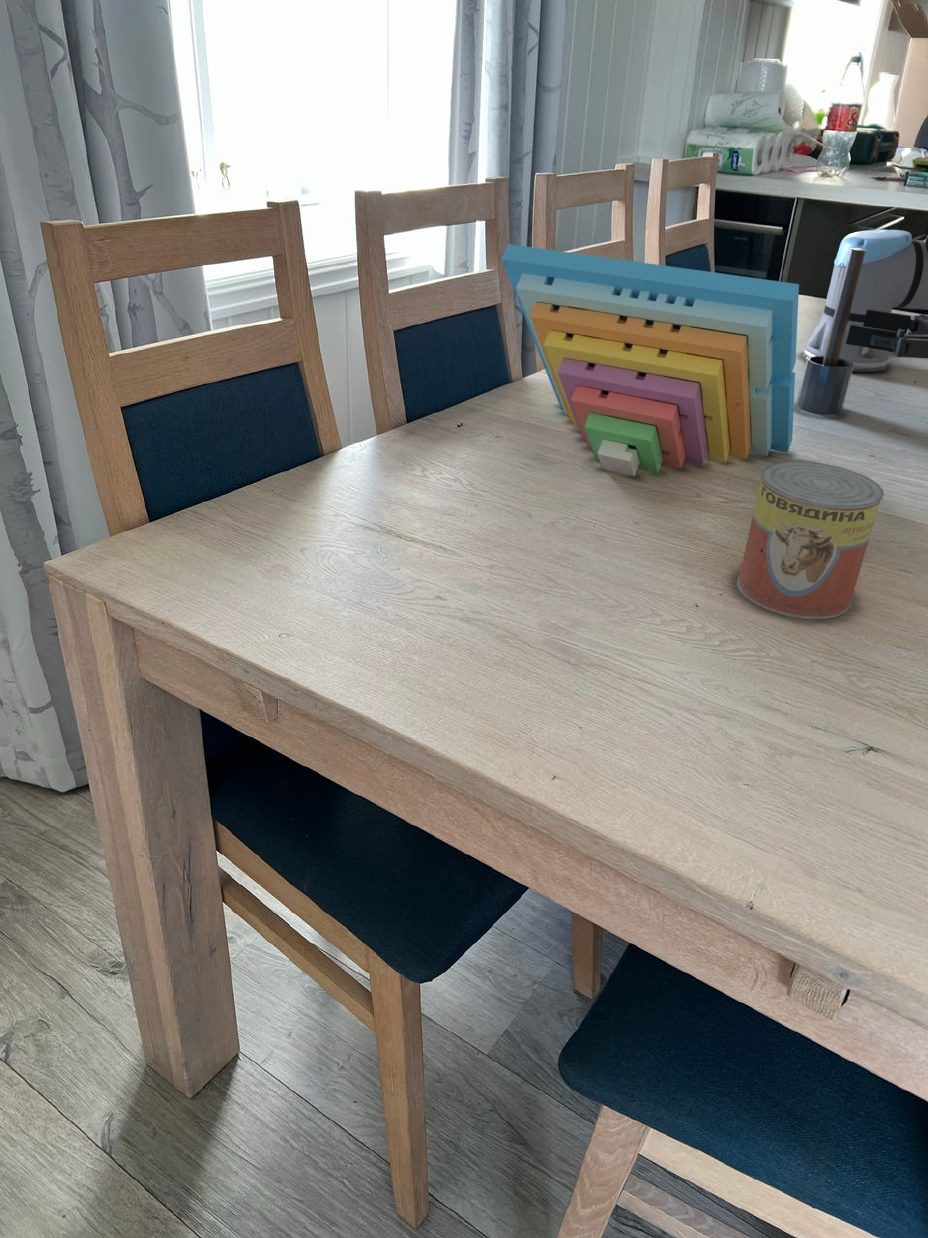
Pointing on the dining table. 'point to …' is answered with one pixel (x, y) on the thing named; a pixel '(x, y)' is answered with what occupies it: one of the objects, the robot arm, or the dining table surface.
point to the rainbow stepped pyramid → (661, 356)
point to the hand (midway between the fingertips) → (856, 325)
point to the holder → (824, 386)
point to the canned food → (808, 539)
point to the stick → (843, 306)
